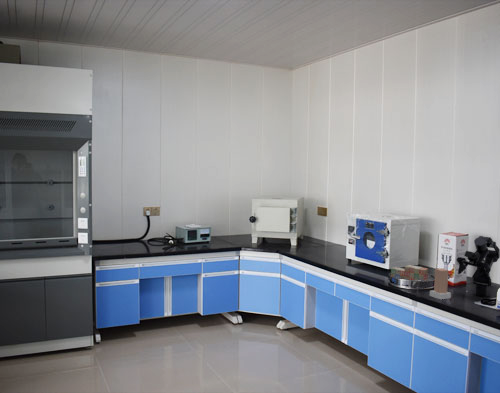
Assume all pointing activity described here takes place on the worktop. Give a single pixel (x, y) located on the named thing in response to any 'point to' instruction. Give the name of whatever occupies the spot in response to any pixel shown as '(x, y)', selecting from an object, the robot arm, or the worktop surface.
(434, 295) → the plinth block
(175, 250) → the worktop surface
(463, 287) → the worktop surface
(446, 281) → the terracotta block
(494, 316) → the worktop surface
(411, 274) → the stack of blocks
